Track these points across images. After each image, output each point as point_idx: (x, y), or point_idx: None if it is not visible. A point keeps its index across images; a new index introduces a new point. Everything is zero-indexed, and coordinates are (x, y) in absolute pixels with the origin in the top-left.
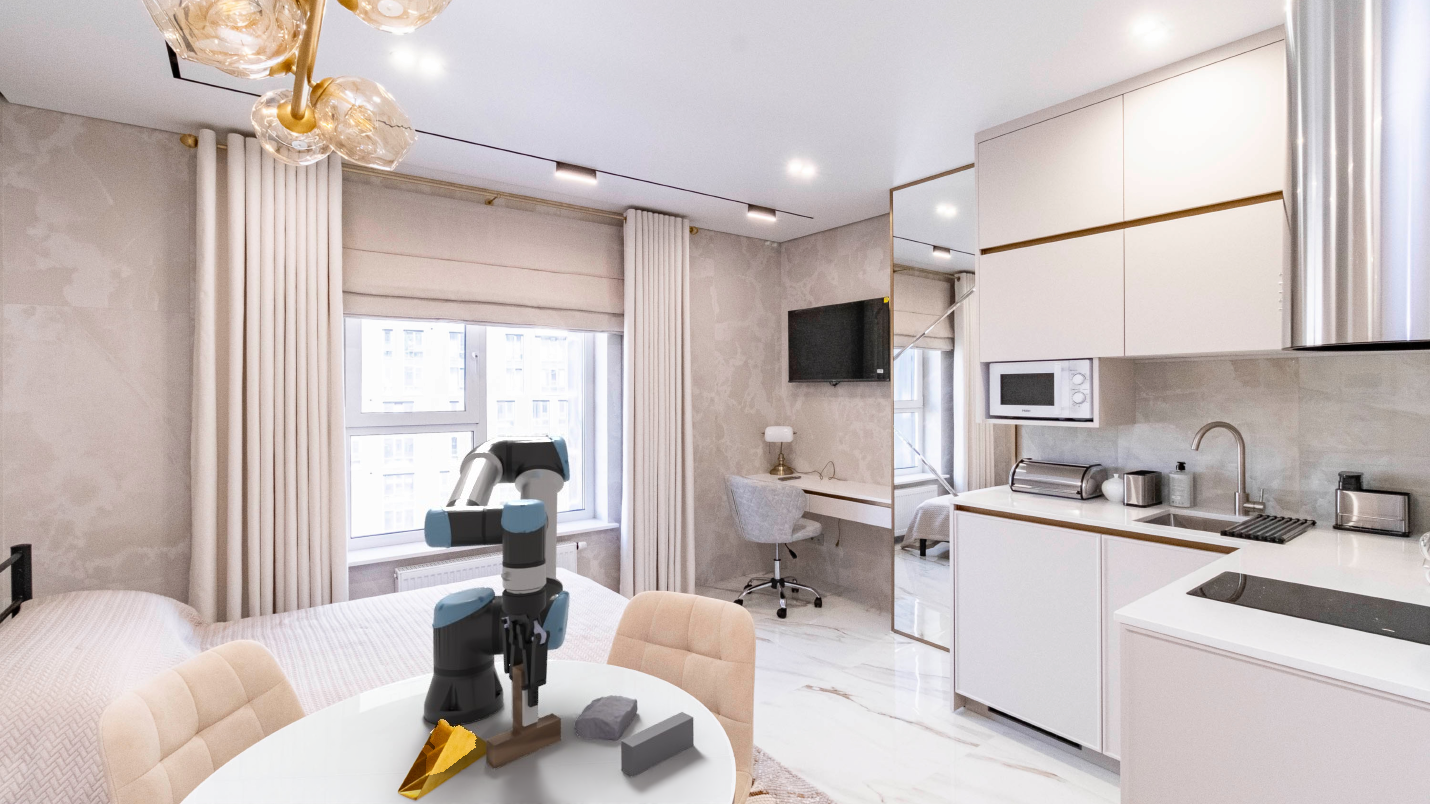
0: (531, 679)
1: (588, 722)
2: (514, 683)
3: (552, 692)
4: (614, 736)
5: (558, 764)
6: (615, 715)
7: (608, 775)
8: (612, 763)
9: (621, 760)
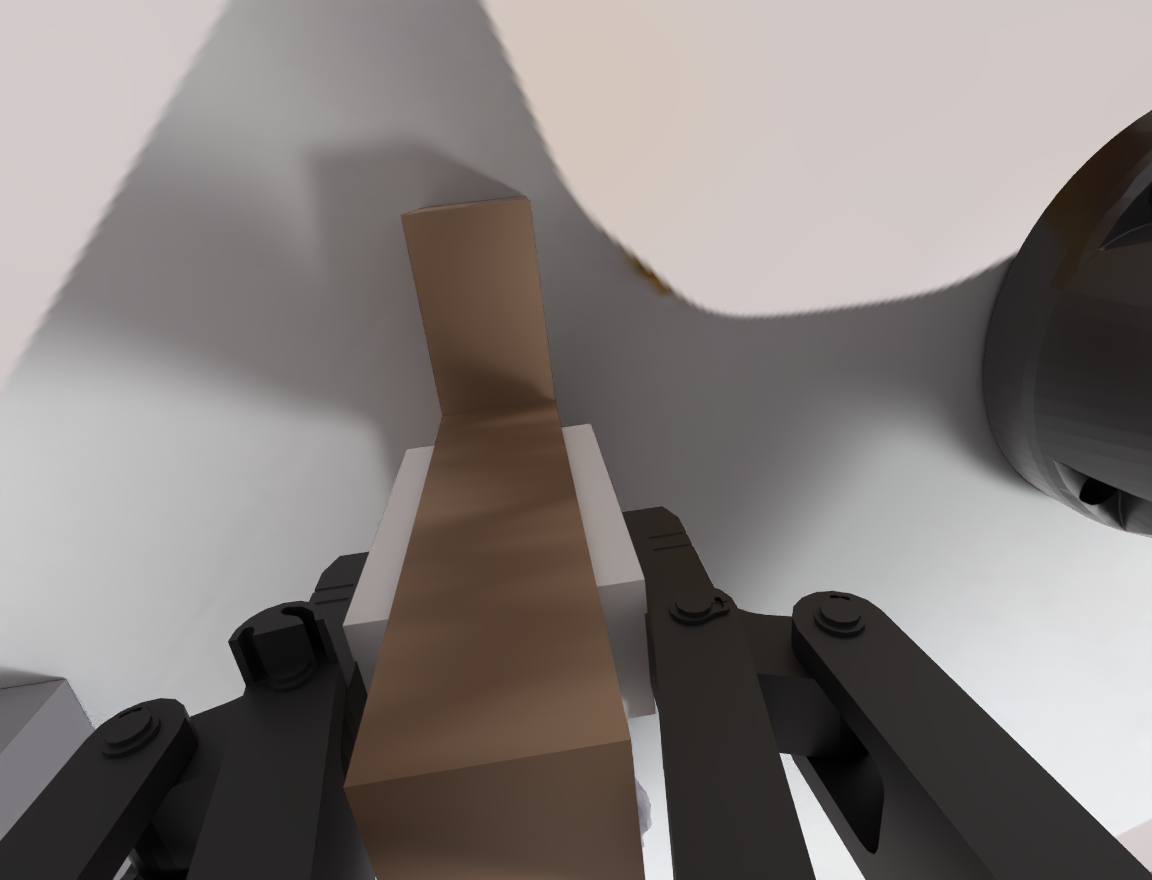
0: (108, 798)
1: None
2: (555, 589)
3: None
4: None
5: (275, 491)
6: None
7: (51, 625)
8: (150, 671)
9: (32, 714)
